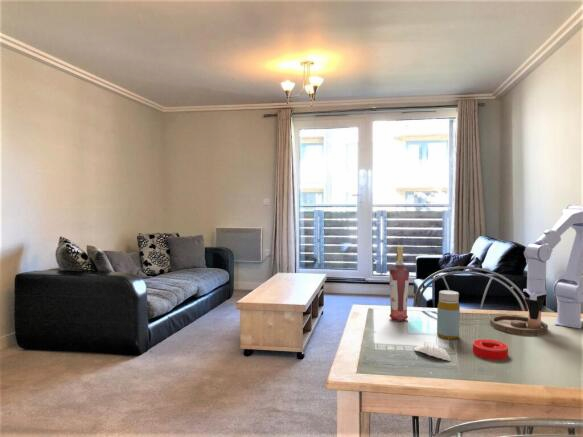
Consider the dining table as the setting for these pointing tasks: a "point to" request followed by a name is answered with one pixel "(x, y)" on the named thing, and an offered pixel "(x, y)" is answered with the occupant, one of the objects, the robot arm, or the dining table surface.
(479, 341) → the decorative ornament
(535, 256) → the robot arm
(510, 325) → the groove tray
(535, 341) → the dining table surface
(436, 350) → the pincushion
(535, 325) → the bead
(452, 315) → the bottle
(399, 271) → the liquor
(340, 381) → the dining table surface
